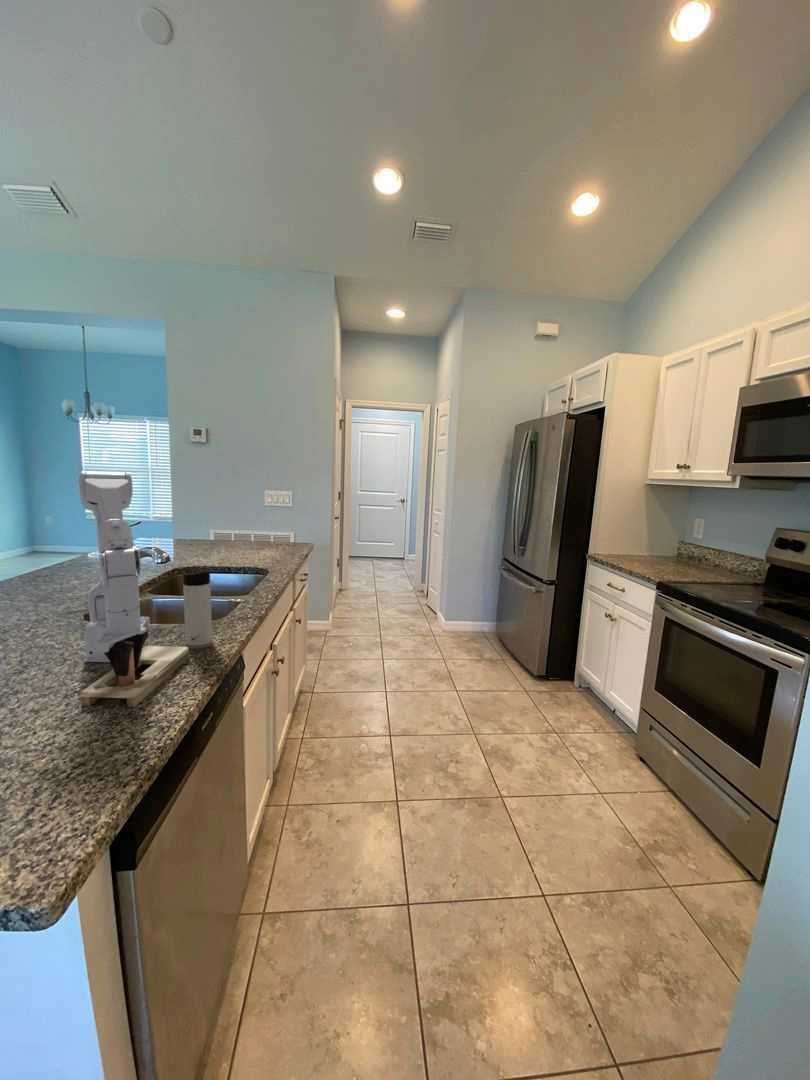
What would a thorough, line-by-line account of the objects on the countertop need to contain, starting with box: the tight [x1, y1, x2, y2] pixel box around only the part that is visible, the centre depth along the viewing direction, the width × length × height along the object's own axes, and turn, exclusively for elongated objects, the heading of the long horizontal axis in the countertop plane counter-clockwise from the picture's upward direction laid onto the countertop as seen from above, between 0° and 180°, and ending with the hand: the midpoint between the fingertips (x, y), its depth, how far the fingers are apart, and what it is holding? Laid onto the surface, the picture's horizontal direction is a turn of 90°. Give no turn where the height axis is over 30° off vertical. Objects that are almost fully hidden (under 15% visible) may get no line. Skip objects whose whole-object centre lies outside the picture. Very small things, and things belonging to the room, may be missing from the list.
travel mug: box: [182, 570, 213, 650], centre depth 111 cm, size 6×7×20 cm
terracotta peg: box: [114, 641, 139, 687], centre depth 88 cm, size 4×4×10 cm
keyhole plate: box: [80, 645, 190, 708], centre depth 94 cm, size 10×22×3 cm, turn 1°
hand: (127, 671), depth 89 cm, fingers closed on terracotta peg, 3 cm apart
